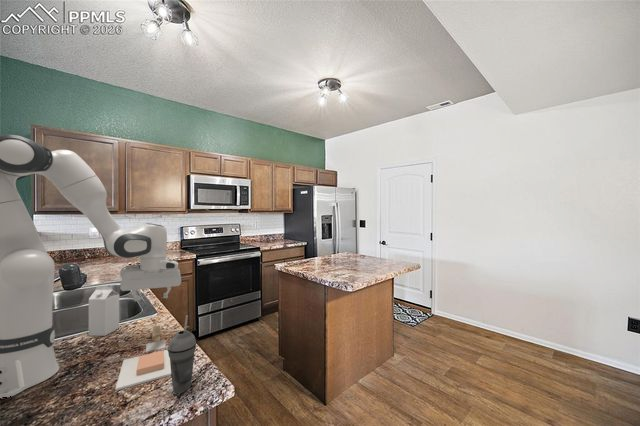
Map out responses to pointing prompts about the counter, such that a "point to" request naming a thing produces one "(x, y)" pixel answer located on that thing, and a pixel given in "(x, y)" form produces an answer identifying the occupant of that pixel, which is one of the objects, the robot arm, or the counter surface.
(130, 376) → the mat
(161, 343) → the turner
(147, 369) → the tile
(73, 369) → the counter surface
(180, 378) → the beverage cup
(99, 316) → the milk carton
